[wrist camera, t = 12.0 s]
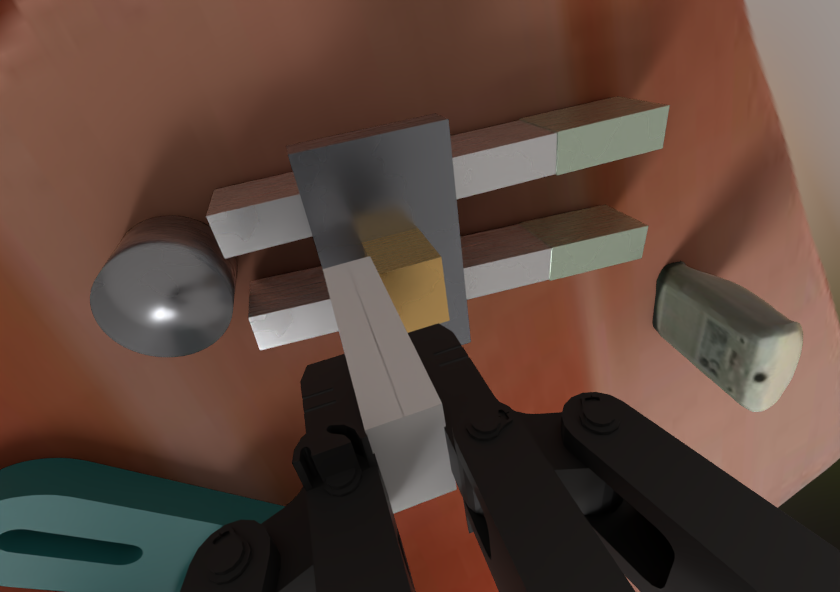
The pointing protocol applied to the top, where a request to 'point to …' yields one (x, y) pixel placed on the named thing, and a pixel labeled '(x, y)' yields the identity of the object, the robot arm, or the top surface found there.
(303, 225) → the base
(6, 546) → the bracket
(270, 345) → the tong arm
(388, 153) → the tab
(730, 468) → the top surface
